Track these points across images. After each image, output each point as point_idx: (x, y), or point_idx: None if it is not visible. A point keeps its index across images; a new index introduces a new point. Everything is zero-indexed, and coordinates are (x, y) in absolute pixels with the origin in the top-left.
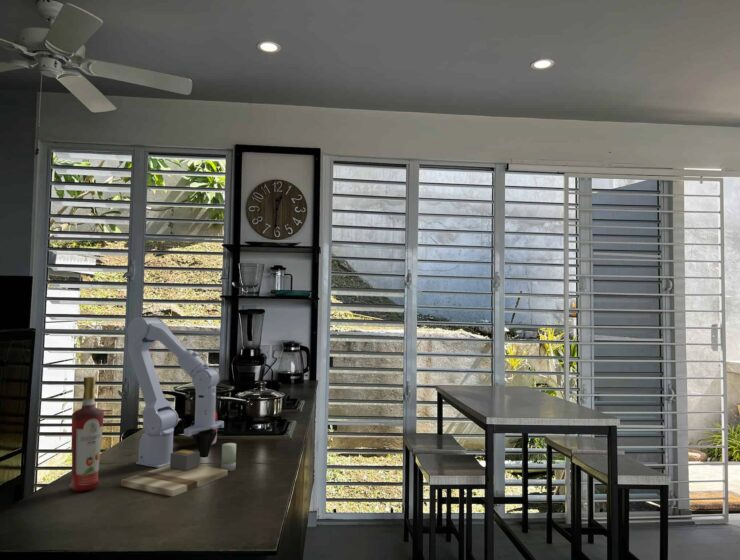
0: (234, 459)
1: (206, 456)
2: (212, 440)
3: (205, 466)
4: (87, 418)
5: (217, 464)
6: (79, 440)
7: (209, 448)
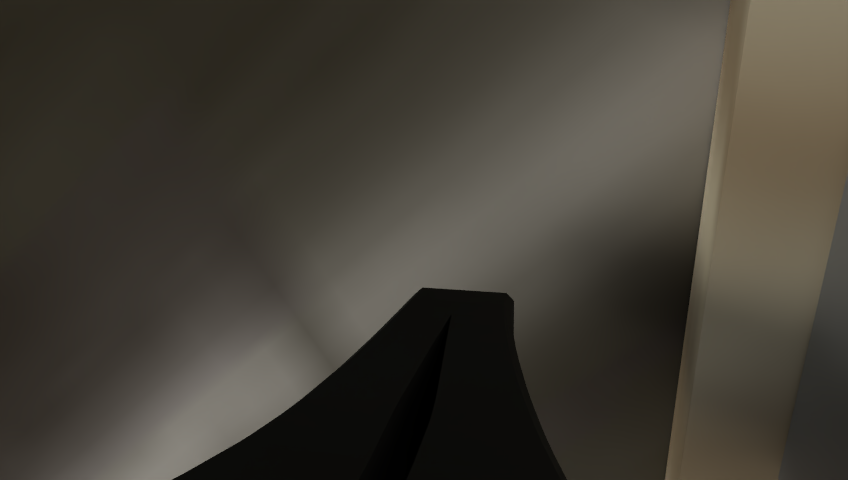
0: None
1: (467, 293)
2: (235, 469)
3: (764, 43)
4: None
5: (263, 152)
6: None
7: (377, 362)
